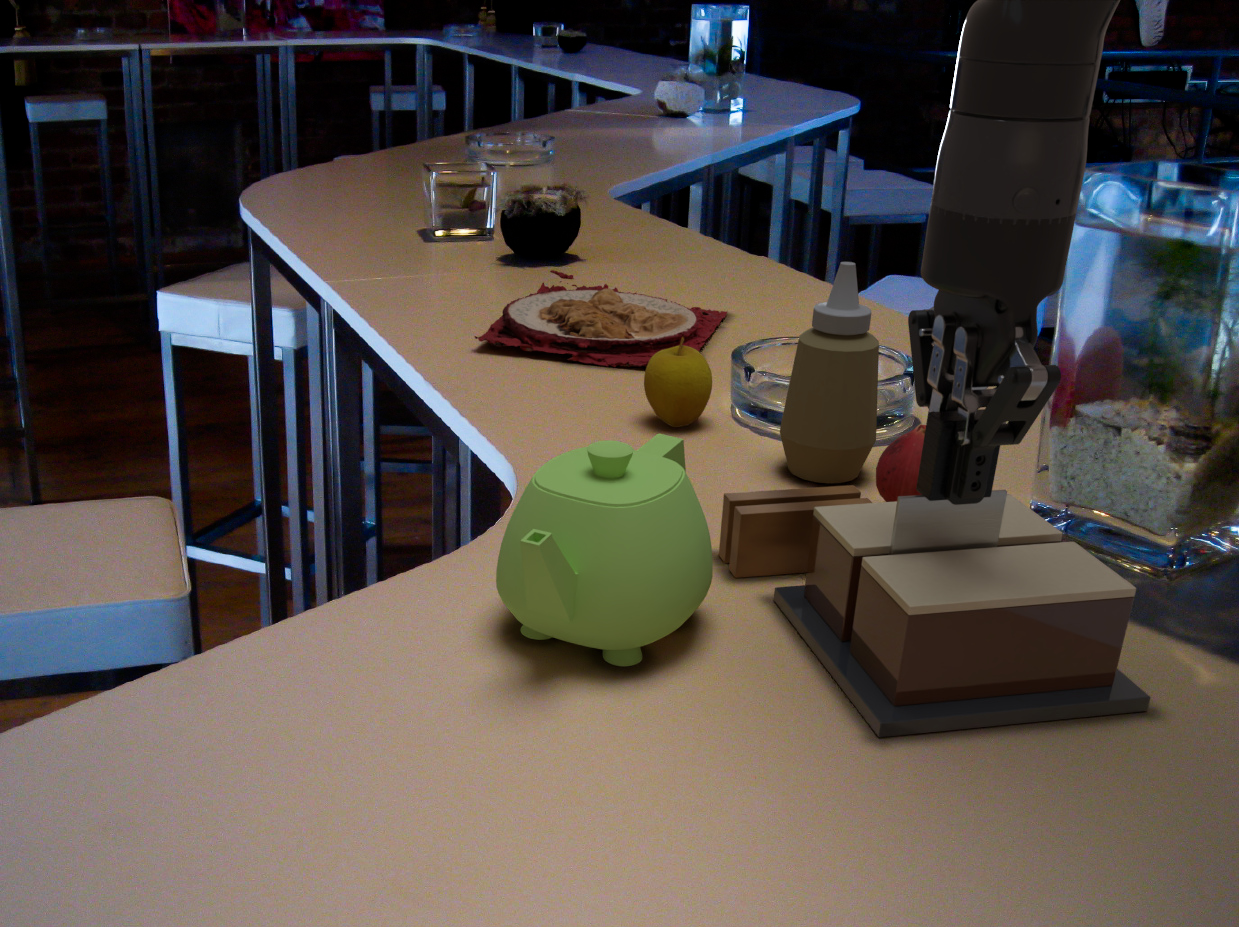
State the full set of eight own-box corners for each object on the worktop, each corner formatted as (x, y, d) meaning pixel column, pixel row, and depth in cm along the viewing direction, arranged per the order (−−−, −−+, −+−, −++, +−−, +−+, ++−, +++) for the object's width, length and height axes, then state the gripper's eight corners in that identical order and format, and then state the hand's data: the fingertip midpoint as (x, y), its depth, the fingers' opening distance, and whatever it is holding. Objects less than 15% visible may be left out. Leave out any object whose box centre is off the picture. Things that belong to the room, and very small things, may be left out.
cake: (1000, 582, 90) (1019, 483, 87) (1147, 711, 75) (1177, 597, 72) (773, 600, 87) (783, 498, 84) (878, 738, 72) (896, 621, 69)
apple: (688, 408, 123) (694, 328, 120) (721, 429, 118) (728, 346, 114) (629, 416, 121) (633, 335, 118) (660, 438, 116) (665, 353, 112)
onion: (870, 528, 98) (883, 431, 95) (869, 500, 103) (882, 407, 100) (948, 536, 97) (964, 438, 93) (944, 507, 102) (959, 413, 98)
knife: (979, 586, 80) (1013, 407, 75) (994, 599, 79) (1029, 417, 74) (876, 594, 79) (903, 412, 74) (889, 607, 78) (917, 423, 72)
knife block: (845, 545, 95) (853, 484, 93) (866, 568, 92) (875, 505, 90) (718, 555, 94) (723, 493, 91) (735, 578, 90) (741, 514, 88)
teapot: (620, 725, 73) (630, 527, 68) (431, 661, 79) (427, 475, 74) (754, 591, 88) (771, 421, 83) (587, 546, 95) (592, 385, 89)
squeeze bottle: (768, 454, 112) (789, 251, 105) (860, 456, 112) (887, 253, 104) (782, 489, 105) (805, 274, 97) (880, 492, 105) (911, 276, 97)
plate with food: (472, 354, 140) (472, 324, 138) (542, 293, 161) (543, 267, 160) (684, 380, 133) (686, 348, 131) (727, 313, 155) (730, 285, 153)
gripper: (1144, 223, 63) (1075, 537, 71) (1001, 178, 75) (955, 449, 83) (1006, 227, 62) (950, 546, 69) (884, 180, 74) (847, 456, 82)
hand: (953, 492), depth 76 cm, fingers closed on knife, 2 cm apart
